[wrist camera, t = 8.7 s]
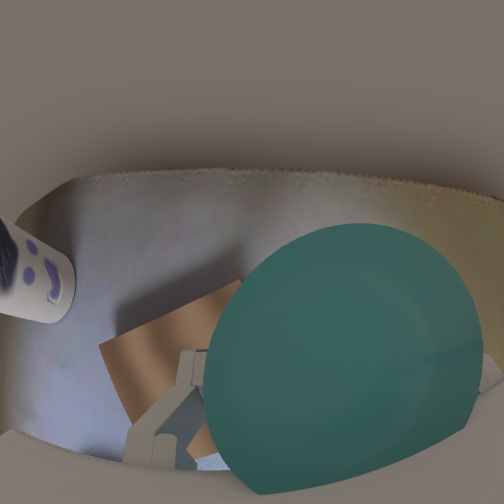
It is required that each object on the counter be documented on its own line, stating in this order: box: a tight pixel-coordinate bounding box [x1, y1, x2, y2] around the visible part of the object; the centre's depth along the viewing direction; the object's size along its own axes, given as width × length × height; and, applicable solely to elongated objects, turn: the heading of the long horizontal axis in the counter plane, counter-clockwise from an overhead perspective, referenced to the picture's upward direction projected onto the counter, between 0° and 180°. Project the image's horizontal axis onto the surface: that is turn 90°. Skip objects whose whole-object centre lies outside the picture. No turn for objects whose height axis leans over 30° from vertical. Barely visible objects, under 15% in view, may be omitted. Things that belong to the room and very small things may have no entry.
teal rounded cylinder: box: [203, 223, 483, 495], centre depth 9 cm, size 6×6×11 cm
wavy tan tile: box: [99, 279, 242, 459], centre depth 24 cm, size 16×14×4 cm
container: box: [0, 216, 75, 324], centre depth 20 cm, size 10×10×20 cm
